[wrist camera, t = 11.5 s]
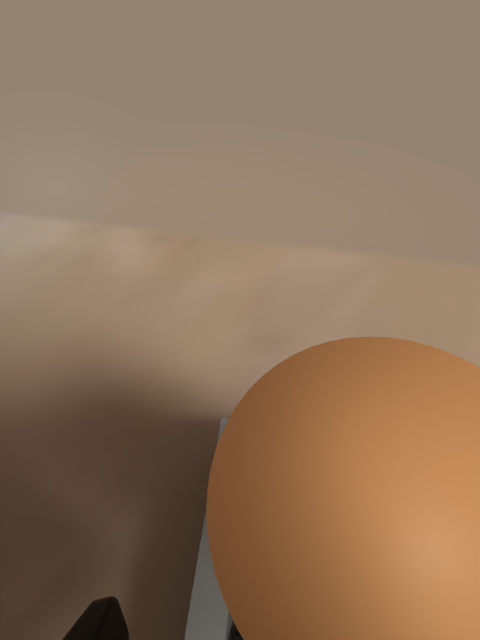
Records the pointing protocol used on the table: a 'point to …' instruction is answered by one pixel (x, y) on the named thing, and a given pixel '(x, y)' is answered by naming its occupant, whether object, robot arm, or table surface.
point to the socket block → (209, 595)
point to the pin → (352, 496)
